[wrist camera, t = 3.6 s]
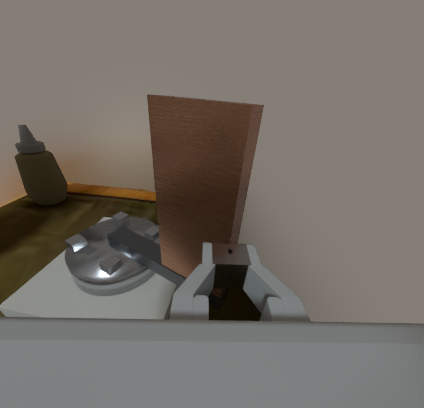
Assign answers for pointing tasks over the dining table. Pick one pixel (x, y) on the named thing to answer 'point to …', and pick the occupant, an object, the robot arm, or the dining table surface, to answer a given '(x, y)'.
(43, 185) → the squeeze bottle
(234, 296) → the dining table surface
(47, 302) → the white square board
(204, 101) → the silver brown l-shaped piece
